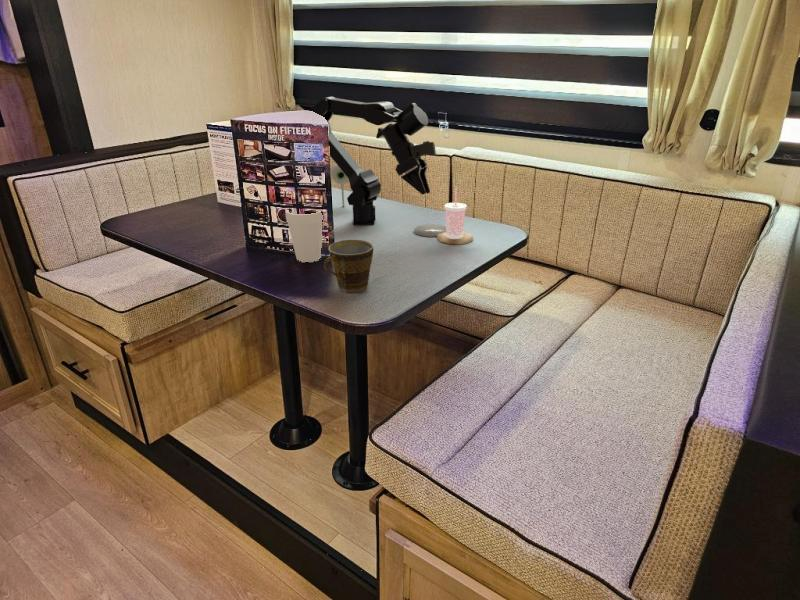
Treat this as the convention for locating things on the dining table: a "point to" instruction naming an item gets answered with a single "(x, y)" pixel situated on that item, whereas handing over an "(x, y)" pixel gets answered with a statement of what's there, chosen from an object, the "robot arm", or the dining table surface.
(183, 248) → the dining table surface
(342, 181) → the lollipop
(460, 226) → the beverage cup
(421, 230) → the grey dome cap
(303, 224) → the foam cup
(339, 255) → the ceramic cup
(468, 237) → the shiny gold rounded object
